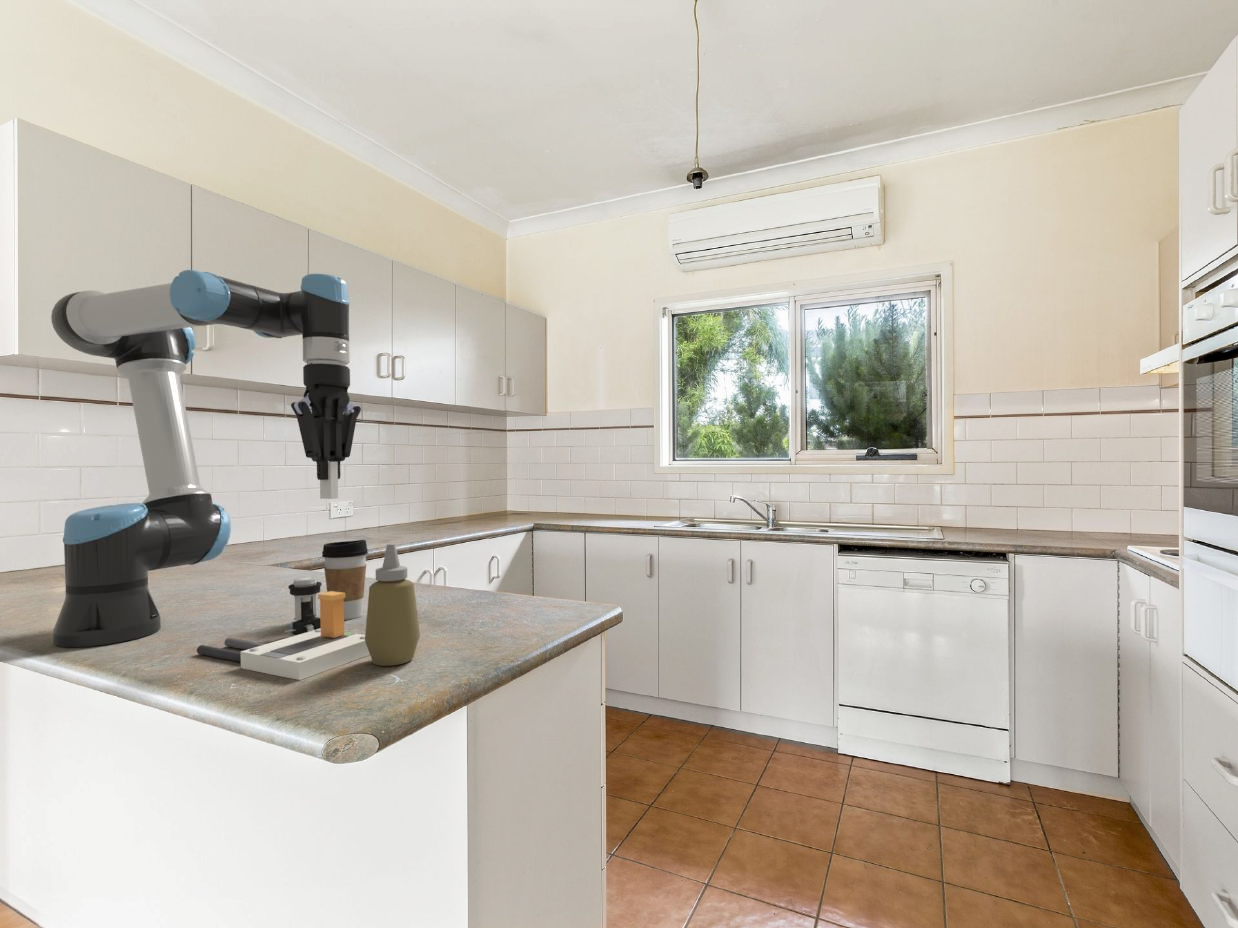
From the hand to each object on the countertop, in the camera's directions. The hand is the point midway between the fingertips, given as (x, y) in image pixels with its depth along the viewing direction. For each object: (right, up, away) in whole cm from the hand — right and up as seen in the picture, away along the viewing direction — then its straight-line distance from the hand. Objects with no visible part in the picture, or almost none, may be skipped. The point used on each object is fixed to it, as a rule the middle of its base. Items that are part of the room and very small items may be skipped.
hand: (329, 498), depth 113 cm
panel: (+3, -25, -13) cm, 28 cm away
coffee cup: (-3, -25, +14) cm, 28 cm away
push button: (-5, -25, +1) cm, 25 cm away
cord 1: (-11, -25, -12) cm, 30 cm away
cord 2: (-9, -25, -8) cm, 27 cm away
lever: (+5, -22, -10) cm, 24 cm away
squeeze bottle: (+16, -25, -14) cm, 33 cm away
